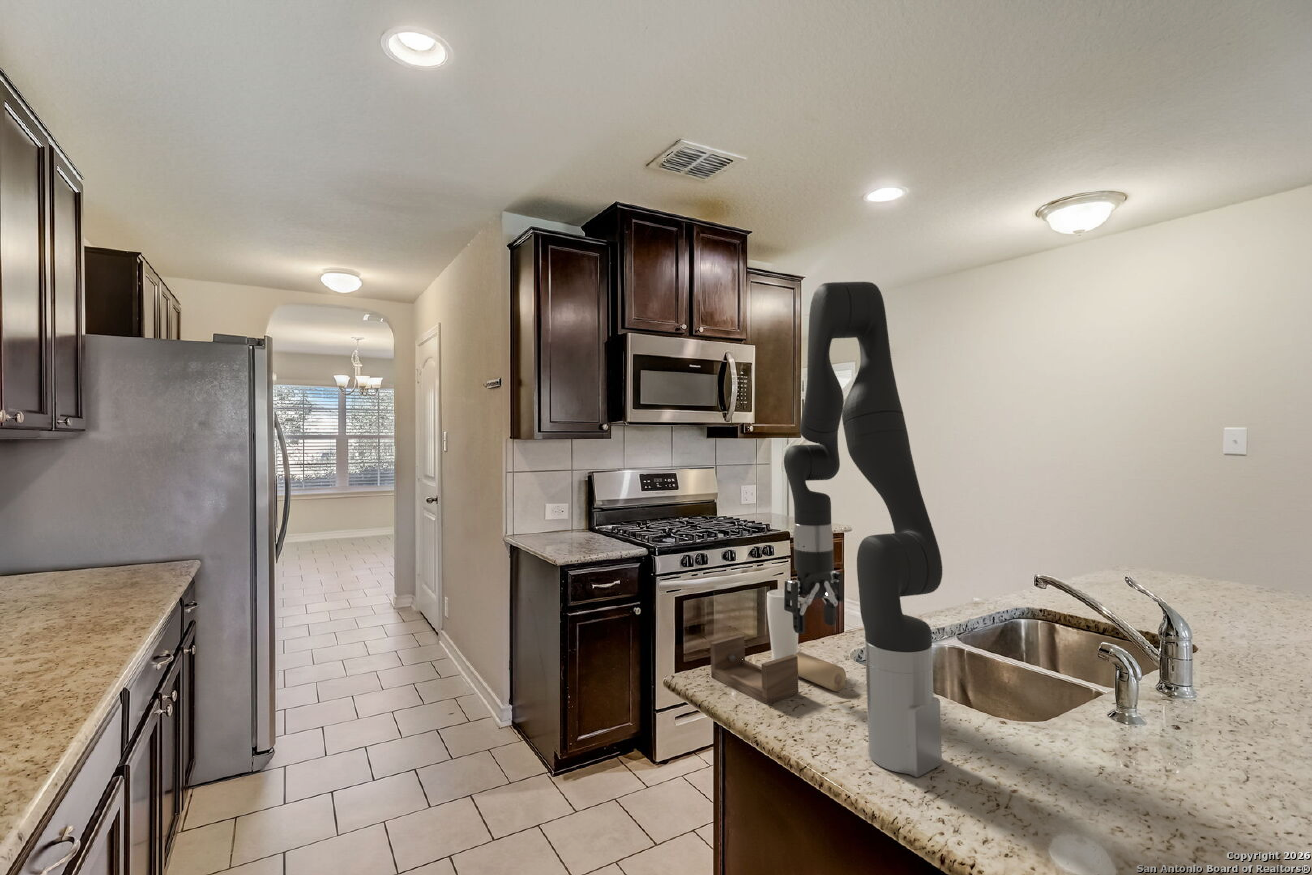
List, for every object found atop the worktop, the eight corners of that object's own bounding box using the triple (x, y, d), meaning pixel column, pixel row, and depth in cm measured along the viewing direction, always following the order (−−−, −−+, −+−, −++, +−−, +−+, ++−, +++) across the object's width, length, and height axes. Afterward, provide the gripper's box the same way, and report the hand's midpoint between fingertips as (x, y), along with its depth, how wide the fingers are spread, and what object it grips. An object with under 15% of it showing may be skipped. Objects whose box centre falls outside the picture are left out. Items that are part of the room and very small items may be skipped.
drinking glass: (798, 657, 133) (796, 588, 133) (803, 669, 126) (801, 596, 127) (767, 657, 134) (765, 589, 134) (770, 669, 127) (767, 597, 127)
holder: (798, 693, 115) (797, 656, 115) (767, 704, 110) (766, 665, 110) (741, 668, 128) (740, 634, 128) (711, 677, 124) (710, 642, 124)
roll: (847, 688, 117) (846, 664, 117) (830, 694, 114) (829, 669, 114) (806, 672, 125) (805, 649, 125) (790, 677, 123) (789, 654, 123)
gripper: (802, 554, 113) (804, 641, 113) (852, 544, 121) (854, 626, 121) (773, 548, 119) (775, 631, 119) (823, 539, 127) (825, 617, 127)
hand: (815, 628), depth 120 cm, fingers open, 8 cm apart
